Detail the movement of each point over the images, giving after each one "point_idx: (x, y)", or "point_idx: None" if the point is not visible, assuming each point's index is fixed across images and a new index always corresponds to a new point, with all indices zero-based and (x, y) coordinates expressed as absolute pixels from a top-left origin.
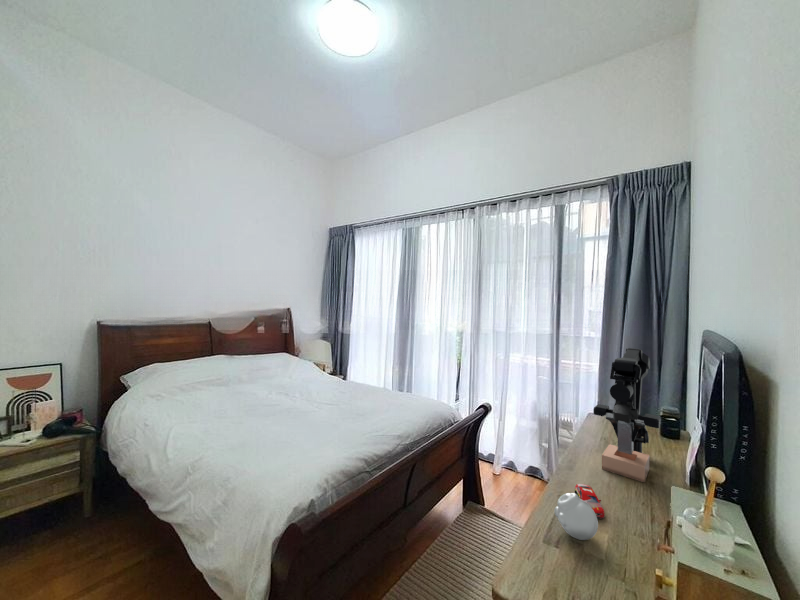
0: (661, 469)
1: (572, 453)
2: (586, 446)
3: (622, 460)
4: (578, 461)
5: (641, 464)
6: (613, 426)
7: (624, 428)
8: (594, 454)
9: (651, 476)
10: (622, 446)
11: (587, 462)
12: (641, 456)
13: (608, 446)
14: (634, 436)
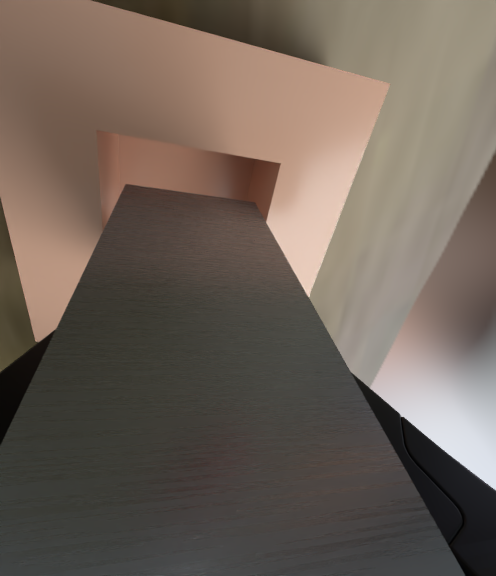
0: (17, 316)
1: (452, 220)
2: (356, 341)
3: (206, 44)
4: (456, 117)
5: (8, 53)
6: (443, 455)
7: (227, 489)
8: (336, 281)
9: None
10: (219, 222)
11: (401, 140)
12: (73, 279)
13: None
14: (19, 372)
